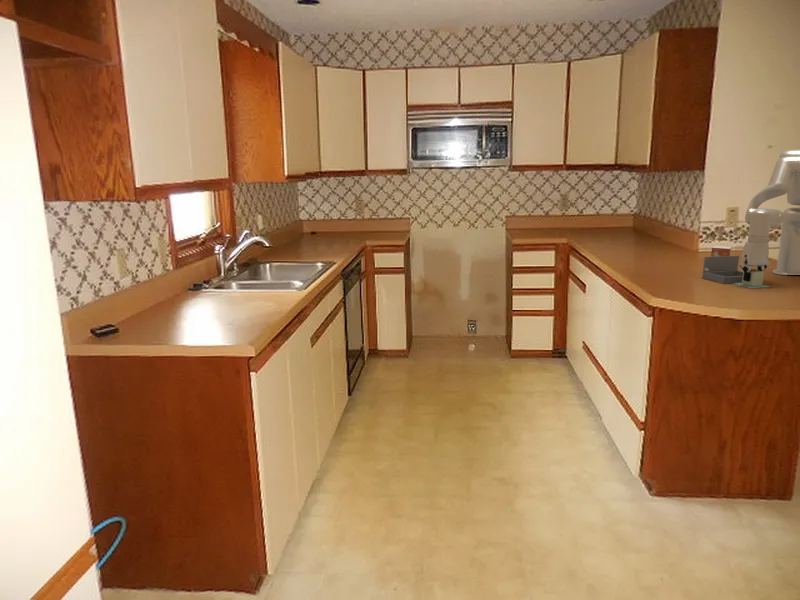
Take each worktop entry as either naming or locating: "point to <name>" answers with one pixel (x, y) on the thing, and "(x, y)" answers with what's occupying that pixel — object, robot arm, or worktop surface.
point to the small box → (720, 251)
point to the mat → (751, 286)
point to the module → (754, 278)
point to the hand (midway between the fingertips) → (752, 280)
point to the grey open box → (722, 269)
